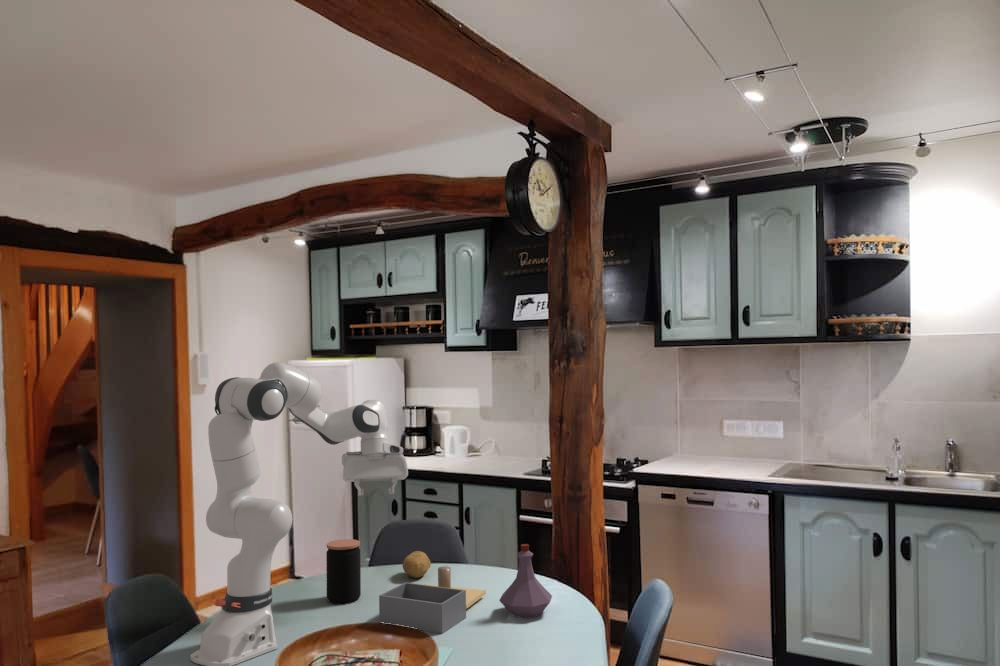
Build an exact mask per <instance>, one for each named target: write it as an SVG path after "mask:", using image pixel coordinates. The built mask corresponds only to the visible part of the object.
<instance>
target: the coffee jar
mask: <svg viewBox="0 0 1000 666" xmlns="http://www.w3.org/2000/svg"><path fill="white" fill-rule="evenodd" d="M360 545H361V541H360V540H357V539H351V538H347V539H345V538H342V539H335V540H331V541H329V542H327V543H326V549H327V550H326V556H325V557H326V558H325V559H326V560H325V561H326V599H327V601H328V603H330V604H332V605H348V603H349V604H352V602H353V603H355V601H356V602H358V600H359V599H360V597H361V595H362V593H361V589H362V588H361V585H362V584H361V577H362V576H361V572H362V571H361V549H360Z"/></svg>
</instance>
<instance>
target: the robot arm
mask: <svg viewBox="0 0 1000 666" xmlns="http://www.w3.org/2000/svg"><path fill="white" fill-rule="evenodd" d="M214 395H215V396H214V404H215V406H214V412H215V413H216V415H215V416H214V417H213V418H211V420H210V421H209V423H208V426H207V427H208V429H207V430H208V436H207V437H208V445H209V452H210V456H211V461H212V466H213V469H214V470H213V471H214V475H215V481H216V494H215V495H216V496H215V498H214V501H213V502H212V503H211V504H210V505H209V507H208V509H207V512H206V516H205V524H206V526H207V528H208V530H209V531H210V532H211V533H213V534H216V535H219V536H220V537H224V538H229V539H239V540H241V543H242V544H241V547H240V551H239V553H237V554H236V555H235V556H234V557H232V558H231V559H230V560H229V561H228V564H227V569H226V573H227V577H226V583H227V588H226V590H227V592H225V595H224V598H220V597H217V598H215V600H214V602H213V603H214V606H215V607H221V610H220V612H218V614H217V615H216V617H215V618H213V620H212V621H211V623H210V624H209V625H208V626H207V628H205V629H204V630H203V632H202V635H201V639H200V644H199V645H200V648H199V649H198V650H196V651H194V652H193V653H191V654H190V656H189V657H190V658H189V659H190V661H192V662H193V663H194V664H197V665H201V666H235V665H236V664H240V663H243V662H246V661H247V660H250V659H253V658H256V657H258V656H261V655H264V654H266V653H268V652H269V653H270V652H272V651H274V650H276V649H278V643H277V636H276V632H275V626H274V617H273V616H274V615H273V612H272V605H271V603H272V602H273V589H272V587H271V570H272V569H271V567H272V566H271V565H272V559H273V555H274V553H275V549H276V547H277V545H278V544H279V542H281V540H282V539H284V538H285V537H286V535H288V533H289V532H290V530H291V527H292V525H293V514H292V510H291V508H290V506H288V505H287V504H285V503H283V502H281V501H278V500H275V499H270V498H255V497H253V496H252V492H251V490H252V489H251V487H252V486H253V485H255V483H256V482H257V481H258V479H259V477H260V475H261V468H260V464H259V459H258V456H257V455H258V454H257V451H256V447H255V442H254V438H253V437H252V436H253V435H252V426H253V422H254V421H260V422H266V421H271V420H275V419H276V418H278V417H279V416H280V415H281V414H282V412H283V410H284V409H285V407H287V408H288V410H289V412H290V413H291V415H292V416H293V417H294V418H296V419H297V420H298V421H300V422H301V423H303V424H304V425H306V426H307V427H309V428H310V429H311V430H313V431H315V432H316V433H317V434H318V436H320V438H321V439H323V441H325V442H326V443H327V444H329V445H333V446H335V445H338V444H340V443H343V442H345V441H348V440H351V439H355V438H361V439H360V451H346V452H345V453H343V454H342V456H341V464H342V465H343V470H342V479H343V481H344V482H347V483H351V482H353V483H354V487H355V488H356V489H357V491H358V493H357V494H358V495H357V496H358V497H359V496H360V497H361V496H364V494H365V492H364V490H365V489H364V488H361V487H360V484H361V482H376V481H377V482H378V481H379V482H381V481H391V483H392V486H391V487H389V488H388V495H394V494H395V487H396V485H397V483H398V481H401V480H403V481H404V480H405V479H406V478H407V477H408V476H409V470H408V469H409V467H408V463H407V458H406V457H405V456H404V454H403V453H404V448H403V447H402V446H399V445H396V444H393V443H389V437H388V428H389V427H388V424H389V423H388V416H387V411H386V407H385V405H384V403H382V402H381V401H379V400H374V399H369V400H364V401H363V402H362V403H361V404H358V405H357V404H356V405H353V406H350V407H346V408H344V409H340V410H338V411H334V412H323V411H322V410H321V409H319V408H318V407H319V404H320V403H321V400H322V397H323V396H322V395H323V390H322V386H321V383H320V382H319V381H318V380H317V379H316V378H315V377H314V376H313V375H310V374H309V373H307V372H305V371H304V370H303V369H302V370H301V368H300V369H299V368H298V367H295V366H292V365H290V364H287V363H283V362H279V361H275V362H272V363H269V364H268V365H266V367H264V369H263V370H262V372H261V373H260V376H259V378H253V377H239V376H238V377H237V376H236V377H230V378H228V379H225V380H223V381H222V382H220V384H219V385H218V386H217V388H216V391H215V394H214Z"/></svg>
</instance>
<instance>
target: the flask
mask: <svg viewBox="0 0 1000 666" xmlns="http://www.w3.org/2000/svg"><path fill="white" fill-rule="evenodd" d="M529 547H530V544H529V543H523V544H520V549H521V550H520V551H519V552H518V553H517V554H516V555H517V559H518V569H517V572H516V577H515V579H514V580H513V581H512V583H511V585H509V586H508V588H506V589H505V591H504V592H503V593H502V595H501V597H500V598H499V602H500V603H501V604H502V606H503V607H504V608H505V609H506V610H507V611H508V612H509V614H511V615H512V616H515V617H517V618H535V617H539V616H540V615H541V614H543V612H544V611H545V609H546V608H547V607H548V605H549V604H551V601H552V597H553V594H551V593H550V592H549V591H548V590H547V589H546V588H545V587H544V585H543V584H541V583H540V581H539V580H538V579H537V578H536V575H535V572H534V568H533V564H532V558H533V556H534V553H533V552H531V551H530V549H529Z"/></svg>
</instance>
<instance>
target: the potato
mask: <svg viewBox="0 0 1000 666" xmlns="http://www.w3.org/2000/svg"><path fill="white" fill-rule="evenodd" d="M429 558H430V557H428V555H427V553H425V552H424V551H420V550H416V551H413V552H411V553H410V554H409V555H408V554H407V556H406V557H405V558H404V559H403V561H402V569H403V572H404V573H405V574H407V575H408V576H409V577H411V578H415V579H419V578H420V577H423V576H424V575H426V574H427V573H428V571H429V569H430V568H431V564H432V562H431V560H430V559H429Z"/></svg>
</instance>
